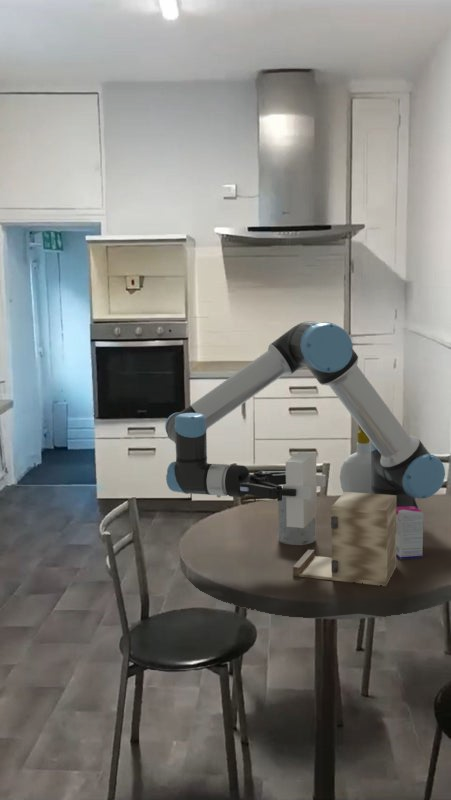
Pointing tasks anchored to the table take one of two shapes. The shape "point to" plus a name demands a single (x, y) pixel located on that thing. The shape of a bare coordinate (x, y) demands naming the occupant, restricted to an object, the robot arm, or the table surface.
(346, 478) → the soap bottle
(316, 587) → the table surface
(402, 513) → the supplement box
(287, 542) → the grey cylinder
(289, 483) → the door
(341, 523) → the cabinet
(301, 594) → the table surface
